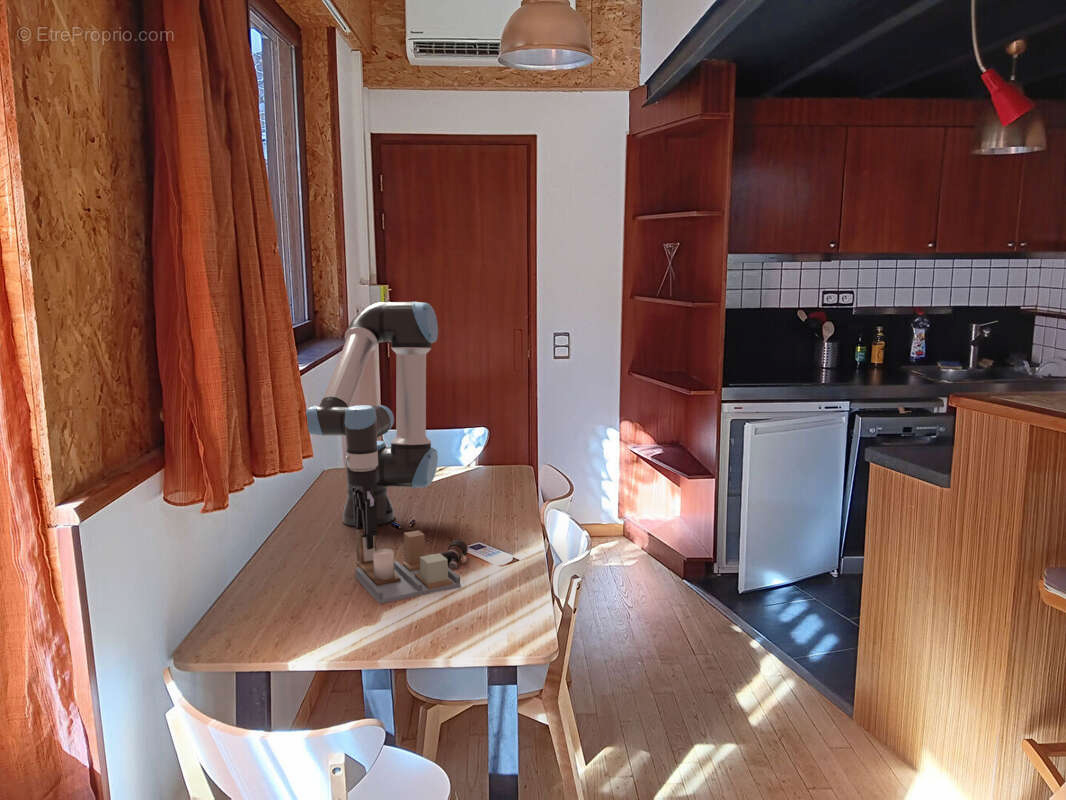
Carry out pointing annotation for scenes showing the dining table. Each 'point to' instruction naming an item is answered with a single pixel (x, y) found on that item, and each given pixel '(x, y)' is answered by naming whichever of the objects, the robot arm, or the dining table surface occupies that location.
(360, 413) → the robot arm
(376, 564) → the cream rounded capsule
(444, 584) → the lane board
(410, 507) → the dining table surface
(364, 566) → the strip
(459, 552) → the figurine
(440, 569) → the sage block
